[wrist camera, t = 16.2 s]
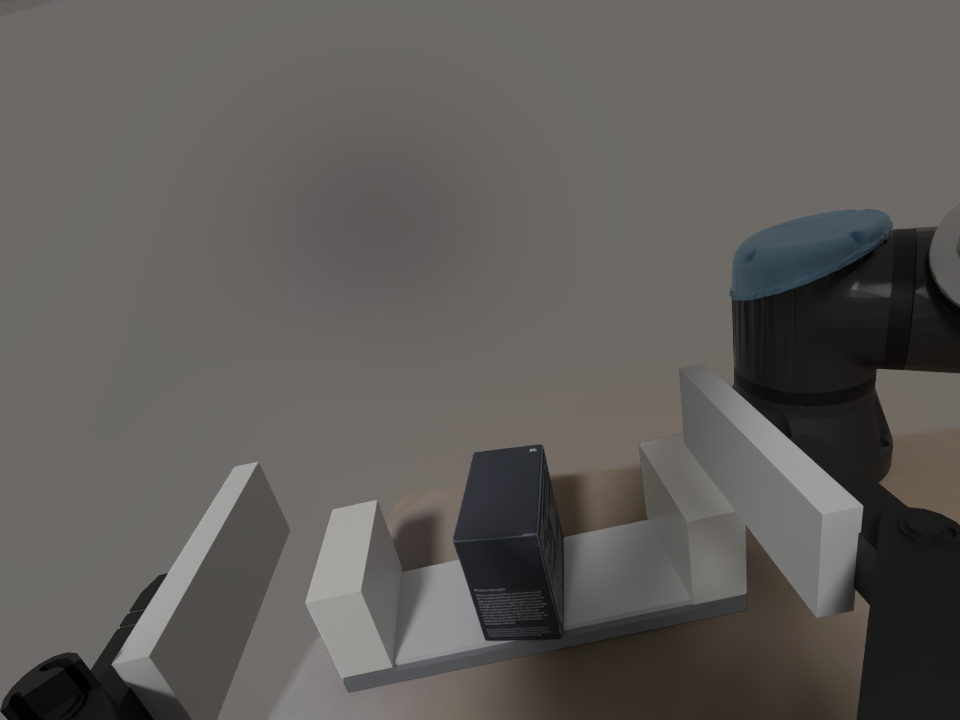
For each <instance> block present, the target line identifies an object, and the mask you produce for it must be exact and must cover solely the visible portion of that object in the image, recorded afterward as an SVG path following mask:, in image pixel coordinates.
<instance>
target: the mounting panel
mask: <svg viewBox="0 0 960 720" xmlns="http://www.w3.org/2000/svg"><path fill="white" fill-rule="evenodd" d="M563 543H564V637H563V638H562V639H554V640H519V641H486V640H485V638H484V635H483V632H482V629H481V626H480V623H479V620H478V616H477V613H476V610H475V607H474V604H473V601H472V598H471V595H470V591H469V588H468V585H467V582H466V579H465V576H464V573H463V570H462V567H461V564H460V561H459V560H456V561H451V562H446V563H441V564H437V565H432V566H427V567H423V568H418V569H413V570H409V571H404V572H402V577H401V587H400V597H399V608H398V618H397V628H396V639H395V649H394V659H393V667H392V668H388V669H383V670H378V671H373V672H368V673H364V674H359V675H354V676H349V677H344V684H345V686H346V689H347V691H348V693H349V692H354V691H358V690H363V689H368V688H373V687H378V686H383V685H387V684H392V683H397V682H402V681H407V680H412V679H416V678H421V677H426V676H431V675H436V674H441V673H445V672H450V671H455V670H460V669H465V668H469V667H474V666H479V665H484V664H489V663H494V662H498V661H503V660H508V659H513V658H518V657H523V656H527V655H532V654H537V653H542V652H547V651H552V650H556V649H561V648H566V647H571V646H576V645H581V644H585V643H590V642H595V641H600V640H605V639H610V638H614V637H619V636H624V635H629V634H634V633H639V632H643V631H648V630H653V629H658V628H663V627H668V626H672V625H677V624H682V623H687V622H692V621H697V620H701V619H706V618H711V617H716V616H721V615H726V614H730V613H735V612H740V611H745V610H747V598H746V597H745V595H739V596H734V597H729V598H724V599H720V600H715V601H710V602H705V603H700V604H696V605H693V603H692V601H691V599H690V597H689V596H688V594H687V592H686V590H685V588H684V586H683V584H682V582H681V580H680V578H679V576H678V575H677V573H676V571H675V569H674V567H673V565H672V563H671V561H670V559H669V557H668V555H667V554H666V552H665V550H664V548H663V546H662V544H661V542H660V540H659V538H658V536H657V534H656V533H655V531H654V529H653V527H652V525H651V523H650V521H649V519H648V520H643V521H638V522H634V523H629V524H624V525H620V526H615V527H610V528H606V529H601V530H596V531H591V532H587V533H582V534H577V535H573V536H568V537H564V539H563Z"/></svg>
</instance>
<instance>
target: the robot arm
mask: <svg viewBox="0 0 960 720" xmlns="http://www.w3.org/2000/svg"><path fill="white" fill-rule="evenodd" d="M58 1H62V0H0V17H1V16H5V15H8V14H12V13H16V12H20V11H23V10H28V9H31V8H35V7H39V6H43V5H46V4H50V3H54V2H58ZM892 229H893V223H892V222H891V221H890V218H889V216H888V215H887V214H886V213H884V212H882V211H879V210H878V211H877V210H870V209H866V210H859V211H856V210H842V211H834V212H827V213H821V214H816V215H811V216H807V217H802V218H799V219H794V220H791V221H787V222H784V223H781V224H778V225H775V226H772V227H770V228H767V229H765V230H762V231H760V232H758V233H756V234H754V235H753V236H751V237H749V238H748V239H746V240H745V241H744V242H743V243H742V244H741V245H740V246H739V247H738V249H737V251H736V252H735V254H734V258H733V269H732V286H731V288H730V296H731V298H732V316H733V347H734V385H733V387H731V386H729V385H728V384H727V383H726V382H725V381H724V380H723V379H722V378H720V377H719V376H718V375H717V374H716V373H715V372H714V371H713V370H712V369H710V368H709V367H708V366H707V365H706V364H705V363H702V364H697V365H693V366H688V367H684V368H679V373H680V385H681V386H680V387H681V398H682V399H681V400H682V413H683V428H684V442H685V446H686V447H687V448H688V450H689V451H690V452H691V454H692V455H693V456H694V457H695V459H696V460H697V461H698V463H699V464H700V465H701V467H702V468H703V469H704V471H705V472H706V473H707V475H708V476H709V477H710V479H711V480H712V481H713V482H714V484H715V485H716V486H717V488H718V489H719V490H720V492H721V493H722V494H723V496H724V497H725V498H726V500H727V501H728V502H729V504H730V505H731V506H732V507H733V509H734V510H735V511H736V513H737V514H738V515H739V517H740V518H741V519H742V521H743V522H744V523H745V525H746V526H747V527H748V528H749V530H750V531H751V532H752V534H753V535H754V536H755V538H756V539H757V540H758V542H759V543H760V544H761V546H762V547H763V548H764V550H765V551H766V552H767V553H768V555H769V556H770V557H771V559H772V560H773V561H774V563H775V564H776V565H777V567H778V568H779V569H780V571H781V572H782V573H783V575H784V576H785V577H786V578H787V580H788V581H789V582H790V584H791V585H792V586H793V588H794V589H795V590H796V592H797V593H798V594H799V596H800V597H801V598H802V599H803V601H804V602H805V603H806V605H807V606H808V607H809V609H810V610H811V611H812V613H813V614H814V615H815V617H816V618H819V617H824V616H829V615H834V614H838V613H843V612H848V611H853V610H854V599H855V589H856V590H857V591H858V592H859V594H860V595H861V596H862V597H863V598H864V599H865V600H866V601H867V603H868V604H869V605H870V610H869V618H868V627H867V635H866V644H865V653H864V661H863V670H862V678H861V687H860V695H859V704H858V712H857V720H960V525H959V524H958V523H957V522H955V521H953V520H951V519H949V518H948V517H946V516H944V515H942V514H939V513H936V512H933V511H929V510H926V509H920V508H910V507H907V506H906V505H905V504H903V503H902V502H901V501H900V500H899V499H897V498H896V497H895V496H894V495H892V494H891V493H890V492H889V491H887V490H886V489H885V488H884V487H883V486H881V485H880V484H879V483H878V482H880V481H881V480H882V479H883V478H884V477H885V476H886V475H887V473H888V472H889V469H890V466H891V459H892V450H893V440H892V436H891V433H890V430H889V427H888V424H887V422H886V419H885V416H884V413H883V410H882V407H881V404H880V402H879V398H878V395H877V393H876V390H875V382H876V370H877V369H894V370H913V371H930V372H947V373H960V203H959V204H958V205H957V206H956V207H954V208H953V209H952V210H951V211H950V212H949V213H948V214H947V215H946V216H945V217H944V218H943V220H942V221H941V223H940V224H939V226H936V227H920V228H913V229H895V230H892ZM289 532H290V528H289V526H288V524H287V522H286V520H285V517H284V515H283V513H282V511H281V509H280V507H279V505H278V502H277V500H276V498H275V496H274V494H273V492H272V489H271V487H270V485H269V483H268V481H267V479H266V476H265V475H264V472H263V470H262V468H261V466H260V464H259V462H255V463H250V464H245V465H241V466H236V467H234V469H233V470H232V472H231V474H230V475H229V477H228V478H227V480H226V481H225V483H224V485H223V486H222V488H221V490H220V491H219V493H218V494H217V496H216V498H215V499H214V501H213V502H212V504H211V506H210V507H209V509H208V510H207V512H206V514H205V515H204V517H203V518H202V520H201V522H200V523H199V525H198V526H197V528H196V530H195V531H194V533H193V534H192V536H191V538H190V539H189V541H188V542H187V544H186V546H185V547H184V549H183V550H182V552H181V554H180V555H179V557H178V559H177V560H176V562H175V563H174V565H173V566H172V568H171V570H170V571H169V573H167V574H163V575H159V576H158V577H157V578H156V579H155V580H154V581H153V582H152V583H151V584H150V585H149V586H148V587H147V588H146V589H145V590H144V591H143V592H142V593H141V594H140V596H139V597H138V599H137V600H136V602H135V603H134V605H133V606H132V608H131V609H130V614H127V616H126V617H125V618H124V620H123V622H122V623H121V625H120V629H118V630H117V631H116V632H115V634H114V635H113V637H112V638H111V640H110V641H109V643H108V644H107V646H106V648H105V649H104V650H103V652H102V654H101V655H100V657H99V658H98V660H97V661H96V663H95V664H94V666H93V667H92V669H91V670H89V668H88V667H87V666H86V665H85V663H84V662H83V660H82V659H81V658H80V657H79V656H78V655H77V653H63V654H61V655H57V656H54V657H52V658H50V659H48V660H46V661H44V662H42V663H41V664H39V665H38V666H36V667H35V668H33V669H32V670H31V671H29V672H28V673H27V674H25V675H24V676H23V677H22V678H21V679H20V680H19V681H18V682H17V683H16V684H15V685H14V686H13V687H12V688H11V690H10V691H9V693H8V694H7V696H6V697H5V698H4V700H3V703H2V706H1V710H0V711H1V713H2V714H3V715H4V716H5V717H6V718H7V719H8V720H217V718H218V715H219V713H220V710H221V708H222V705H223V703H224V700H225V698H226V695H227V692H228V689H229V687H230V685H231V682H232V679H233V677H234V674H235V672H236V669H237V667H238V664H239V661H240V659H241V656H242V653H243V651H244V648H245V646H246V643H247V640H248V638H249V636H250V633H251V630H252V628H253V625H254V623H255V620H256V617H257V615H258V612H259V609H260V607H261V604H262V602H263V599H264V597H265V594H266V591H267V589H268V586H269V584H270V581H271V579H272V576H273V573H274V570H275V568H276V566H277V563H278V561H279V558H280V555H281V553H282V550H283V548H284V545H285V542H286V540H287V537H288V535H289Z"/></svg>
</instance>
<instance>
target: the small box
mask: <svg viewBox="0 0 960 720" xmlns="http://www.w3.org/2000/svg"><path fill="white" fill-rule="evenodd" d="M563 539H564V537H563V533H562V529H561V525H560V521H559V517H558V513H557V508H556V505H555V500H554V496H553V489H552V485H551V480H550V476H549V472H548V466H547V463H546V457H545V453H544V449H543V445H542V444H539V445H531V446H523V447H515V448H506V449H499V450H490V451H483V452H475V453H474V454H473V458H472V462H471V467H470V471H469V475H468V480H467V484H466V488H465V492H464V496H463V500H462V504H461V508H460V512H459V516H458V520H457V524H456V528H455V532H454V536H453V542H454V545H455V549H456V552H457V555H458V558H459V561H460V564H461V567H462V570H463V573H464V576H465V579H466V582H467V585H468V588H469V591H470V595H471V598H472V601H473V604H474V607H475V610H476V613H477V616H478V620H479V623H480V626H481V629H482V632H483V635H484V638H485V640H486V641H519V640H554V639H562V638H563V637H564V543H563Z"/></svg>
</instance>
